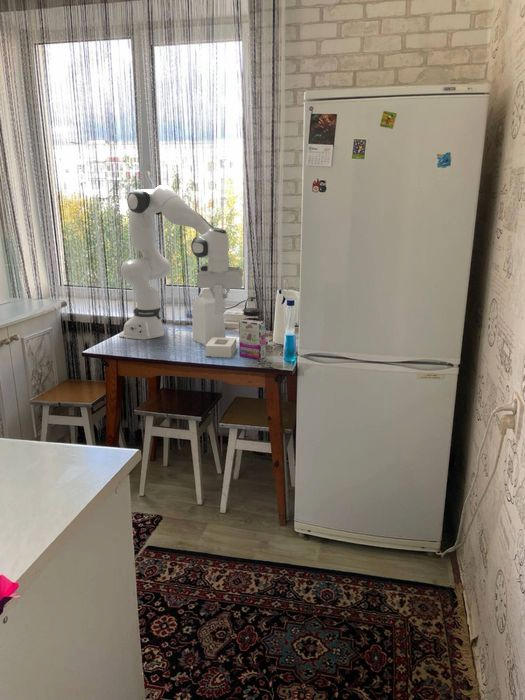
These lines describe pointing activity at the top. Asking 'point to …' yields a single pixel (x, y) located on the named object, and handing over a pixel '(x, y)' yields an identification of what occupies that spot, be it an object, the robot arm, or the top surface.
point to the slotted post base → (221, 347)
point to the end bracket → (219, 299)
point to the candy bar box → (252, 339)
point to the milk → (206, 318)
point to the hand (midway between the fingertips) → (220, 298)
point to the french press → (252, 311)
